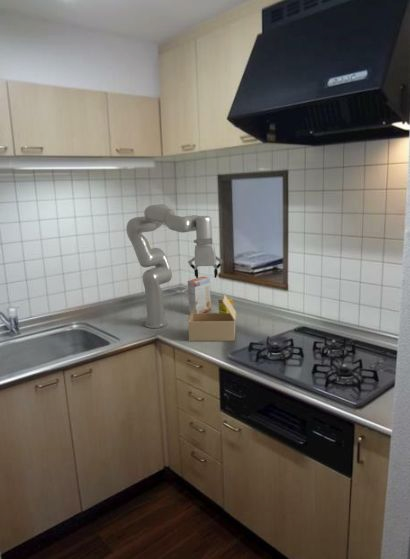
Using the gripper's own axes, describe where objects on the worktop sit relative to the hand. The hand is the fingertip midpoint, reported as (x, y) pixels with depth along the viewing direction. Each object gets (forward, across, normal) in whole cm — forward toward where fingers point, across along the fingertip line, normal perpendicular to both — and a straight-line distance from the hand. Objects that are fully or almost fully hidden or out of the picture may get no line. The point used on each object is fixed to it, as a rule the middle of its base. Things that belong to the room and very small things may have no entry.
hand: (206, 277), depth 207 cm
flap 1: (+15, -7, 0) cm, 17 cm away
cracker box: (+30, -9, +41) cm, 52 cm away
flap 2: (+15, +10, 0) cm, 19 cm away
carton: (+30, +2, 0) cm, 30 cm away
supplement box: (+31, +7, +31) cm, 44 cm away
